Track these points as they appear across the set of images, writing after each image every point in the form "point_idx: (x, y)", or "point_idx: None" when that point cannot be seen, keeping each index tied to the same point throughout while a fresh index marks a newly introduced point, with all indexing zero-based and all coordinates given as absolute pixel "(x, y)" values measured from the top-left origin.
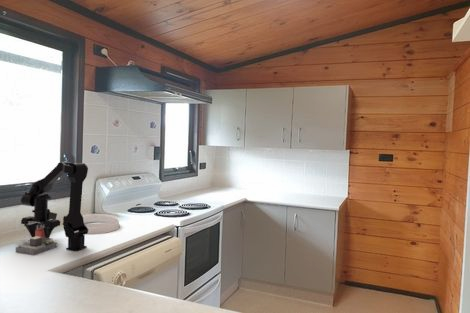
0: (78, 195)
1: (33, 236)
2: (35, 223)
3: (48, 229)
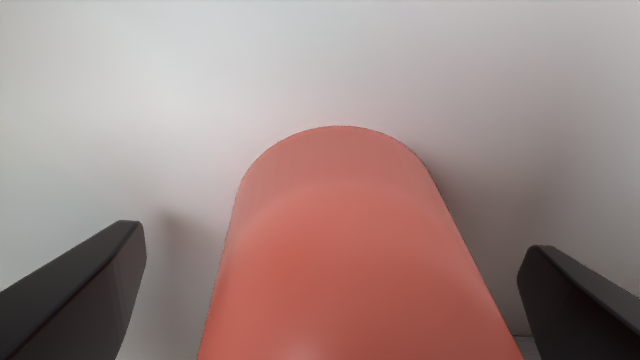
0: None
1: (130, 291)
2: None
3: None
